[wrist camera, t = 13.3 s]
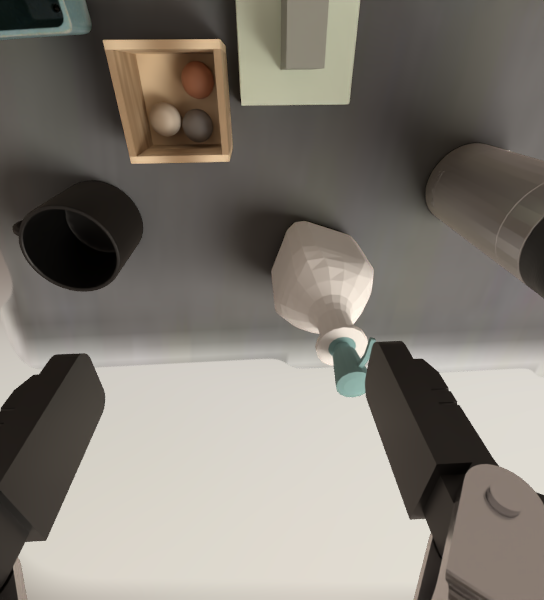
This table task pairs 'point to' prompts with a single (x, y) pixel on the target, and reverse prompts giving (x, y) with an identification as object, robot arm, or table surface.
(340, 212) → the table surface
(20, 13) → the flower pot
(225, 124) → the storage box
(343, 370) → the soap bottle
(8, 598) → the robot arm
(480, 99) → the table surface
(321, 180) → the table surface
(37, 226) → the mug
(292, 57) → the lid
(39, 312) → the table surface
